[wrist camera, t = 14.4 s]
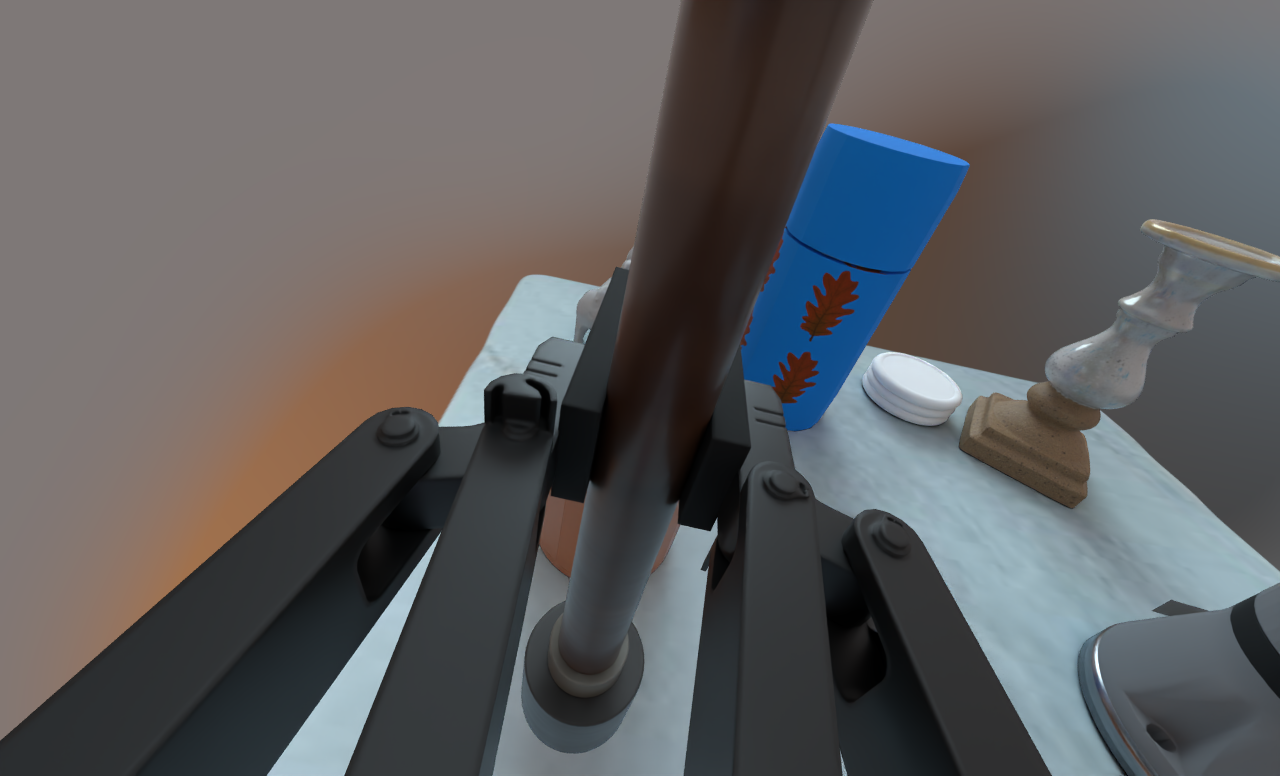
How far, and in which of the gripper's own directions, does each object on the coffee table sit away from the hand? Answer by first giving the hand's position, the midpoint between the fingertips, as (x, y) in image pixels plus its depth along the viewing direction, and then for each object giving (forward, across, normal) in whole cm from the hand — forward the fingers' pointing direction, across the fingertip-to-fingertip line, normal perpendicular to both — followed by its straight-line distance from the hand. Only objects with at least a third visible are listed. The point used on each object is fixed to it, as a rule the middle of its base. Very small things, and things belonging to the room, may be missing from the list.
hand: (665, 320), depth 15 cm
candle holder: (+28, +42, -22) cm, 55 cm away
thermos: (+28, +15, -22) cm, 38 cm away
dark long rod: (-6, 0, -14) cm, 15 cm away
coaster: (+33, +31, -22) cm, 51 cm away
